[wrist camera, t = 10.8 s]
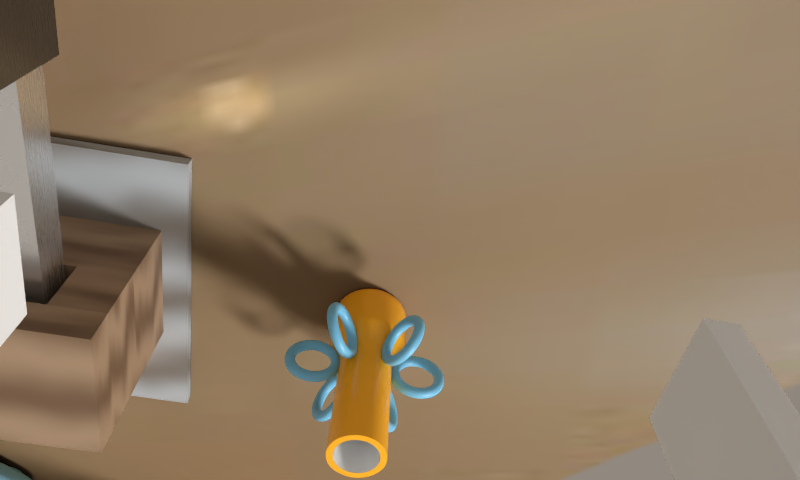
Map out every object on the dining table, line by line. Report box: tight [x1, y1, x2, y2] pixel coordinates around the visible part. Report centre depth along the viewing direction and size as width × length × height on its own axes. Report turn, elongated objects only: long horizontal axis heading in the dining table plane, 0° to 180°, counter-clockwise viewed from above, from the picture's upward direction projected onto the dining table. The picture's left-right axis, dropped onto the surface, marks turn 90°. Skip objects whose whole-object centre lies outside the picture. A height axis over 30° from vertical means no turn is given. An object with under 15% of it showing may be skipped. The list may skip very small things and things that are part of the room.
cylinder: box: [285, 288, 444, 478], centre depth 50 cm, size 12×10×15 cm
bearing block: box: [0, 136, 192, 453], centre depth 49 cm, size 24×16×14 cm, turn 171°
